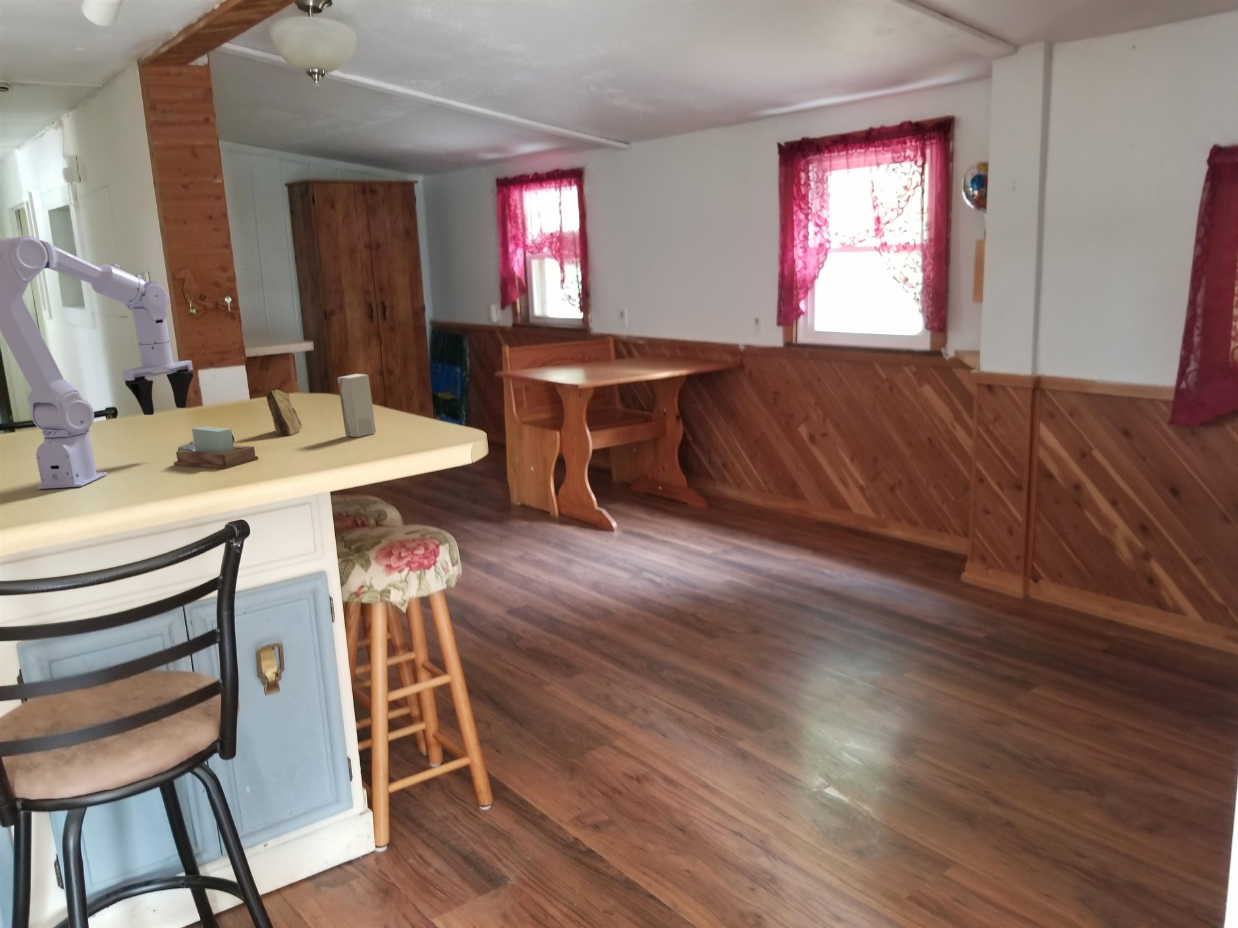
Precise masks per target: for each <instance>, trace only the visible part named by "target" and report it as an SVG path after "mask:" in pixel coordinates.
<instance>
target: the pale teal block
mask: <svg viewBox="0 0 1238 928" xmlns="http://www.w3.org/2000/svg"><path fill="white" fill-rule="evenodd" d="M191 431H192V439H193V444H194V449H195V450H194V451H201V452H217V453H229V452H232V451H234V446H235V445H234V439H233V434H232V433H233V432H232V429H231V428H226V427H225V428H224V427H216V426H203V425H202V426H198V427H194V428H193V427H192V428H191Z"/></svg>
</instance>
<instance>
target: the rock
mask: <svg viewBox="0 0 1238 928" xmlns="http://www.w3.org/2000/svg"><path fill="white" fill-rule="evenodd" d="M265 399H266V402H267V406H268V408H269V411H270V413H271V417H272V421H273V426H274V430H275V433H276V435H278V436H285V437H286V436H287V437H289V436H290V437H291V436H294V434H295V435H296V434H297V433H299V432H300V431H301V427H302V426H303V424H302V422H301V420H300V418H299V416H298V413H297V411H296V409H295V408H294V407H293V405H292V403H291V401H290V394H289V393H287V392H284V391H282V390H279V389H274V390H269V391H268V392H266V394H265Z"/></svg>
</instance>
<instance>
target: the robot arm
mask: <svg viewBox="0 0 1238 928" xmlns="http://www.w3.org/2000/svg"><path fill="white" fill-rule="evenodd" d="M44 269H49V270H52V271H55V272H57V273H60V274H63V275H66V276H69V277H72V278H75V279H77V280H80V281H83V282H86V283H89V284H90V286H91V287H92V288H91V289H92V290H93V291H94V292H95V293H96V294H98V295H101V296H104V297H107V298H109V299H111V300H114V301H117V302H120V303H122V304H124V306H125V307H126V308H127V309H128V310H129V311H131V313H132V317H133V324H134V328H135V330H134V331H135V335H136V341H137V346H138V351H139V358H140V363H141V364H140V365H141V366H138V367H134V368H129V369H125V370H124V369H123V370H121V372H122V379H123V381H124V383H125V386H126V387H127V388H128V389H129V390H130V391H131V393H132V394H133V396H134V397H135V399H136V401H137V402H138V404H139V406H140V408H141V411H142V413H143V415H144V416H152V415H155V410H154V409H155V408H154V402H153V384H154V380H152V379H151V380H149V379H148V378H150V377H157V376H161V375H165V376H166V377H167V379H168V382H169V384H170V387H171V389H172V392H173V393H172V394H173V399H174V404H175V407H176V408H177V409H186V408H187V403H188V393H189V389H190V386H191V382H192V380H193V379H194V372H193V371H192V370H194V369H193V363H192V360H180V361H174V360H173V359H174V358H173V353H172V348H171V347H172V346H171V341H170V335H169V329H168V323H167V322H168V321H167V316H168V314H167V307H168V306H169V304H170V298H171V296H170V294H169V293H167V291H166V288H164V287H163V285H162V284H160V283H159V282H156V281H154V280H153V281H151V280H150V281H146V280H145V279H143V276H141V275H139V274H131V273H129V272H128V271H124V270H122V269H121V266H120V265H118V264H117V263H109V264H108V263H106V264H101V265H100V266H97V265H94V264H92V263H91V262H89V261H86V260H84V259H82V258H80V257H79V256H76V255H73V254H72V253H70V252H67V251H65V250H64V249H61V248H59V247H57V246H55V245H53V244H52V243H50V242H49V241H45V240H39V239H38V238H36V237H35V236H31V235H20V236H17V237H7V238H0V333H1V335H2V337H3V339H4V340H5V342H6V344H7V346H8V348H9V350H10V351H11V353H12V355H13V358H14V359H15V361H16V363H17V365H18V367H19V369H20V371H21V372H22V374H23V376H24V378H25V379H26V381H27V383H28V385H29V387H30V391H29V394H28V395H27V398H26V399H27V402H29V405H30V409H31V411H30V412H31V419H32V422H33V423H34V425H35V426H36V427H37V428H38V429H40V430H41V433H42V436H43V442H42V443H40V445H38V448H37V450H36V454H35V456H36V457H35V458H36V463H37V467H38V472H39V477H40V483H41V484H40V485H38V486H37V490H43V489H45V490H46V489H61V488H63V489H64V488H76V487H78V488H79V487H83V486H85V485H87V484H89V483H91V482H94V481H96V480H98V479H100V478H102V477H104V476H106V475H108V473H107V472H106V471H101V472H98V471H97V468H96V463H95V457H94V452H93V447H92V441H91V436H90V435H91V434H90V432H91V430H90V428H91V426H92V425H93V423H94V420H95V412H94V408H93V406H92V405H91V404H90V403H89V402H88V400H86V399H84V398H83V397H82V395H81V394H80V392H79V390H78V389H77V388H76V387H75V386H74V385H73V384H71V383H70V382H69V381H67V380H66V379H64V376H63V374H62V372H61V370H60V369H59V367H58V364H57V363H56V360H55V359H54V356H53V354H52V353H51V351H50V349H49V347H48V345H47V343H46V341H45V339H44V337H43V335H42V332H41V331H40V330H39V329H40V328H39V327H38V325H37V323H36V321H35V319H34V317H33V316H32V313H31V312H30V310H29V308H28V306H27V304H26V301H25V300H24V298H23V296H24V293H25V292H26V290H27V287H28V286H29V284H30V283H31V282H32V281H33V280H34V279H35V278H36V277H37V276H38V275H39V274H40V273H41V272H42V271H43V270H44Z"/></svg>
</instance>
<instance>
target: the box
mask: <svg viewBox="0 0 1238 928" xmlns="http://www.w3.org/2000/svg"><path fill="white" fill-rule="evenodd" d="M337 383H338V384H337V385H338V390H339V398H340V403H341V412H342V419H343V420H342V421H343V425H344V432H345V433H344V434H345V436H347V437H350V438H351V437H353V438H360V437H361V438H362V437H365V436H369V435H372V434H376V433H377V429H376V422H375V421H376V420H375V415H374V408H373V399H372V393H371V385H370V379H369V374H364V373H354V374H353V373H352V374H348V375H344V376H343V375H342V376H339V377H337Z"/></svg>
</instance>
